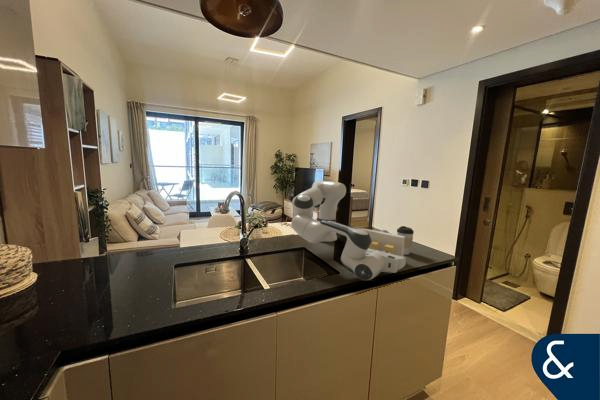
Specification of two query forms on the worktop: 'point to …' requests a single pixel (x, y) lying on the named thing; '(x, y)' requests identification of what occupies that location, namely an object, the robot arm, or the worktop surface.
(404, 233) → the coffee cup
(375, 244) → the button middle
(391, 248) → the button right
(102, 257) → the worktop surface
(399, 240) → the button panel
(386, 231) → the donut
